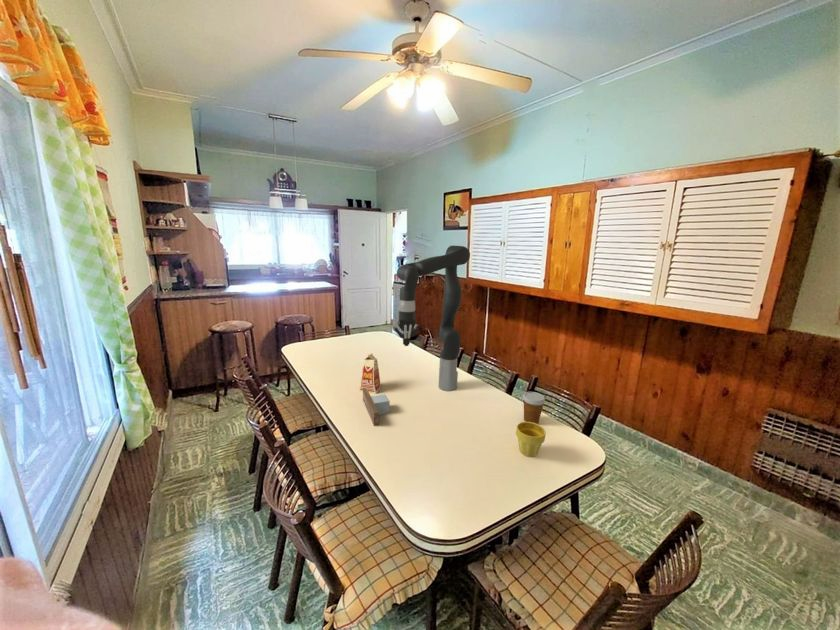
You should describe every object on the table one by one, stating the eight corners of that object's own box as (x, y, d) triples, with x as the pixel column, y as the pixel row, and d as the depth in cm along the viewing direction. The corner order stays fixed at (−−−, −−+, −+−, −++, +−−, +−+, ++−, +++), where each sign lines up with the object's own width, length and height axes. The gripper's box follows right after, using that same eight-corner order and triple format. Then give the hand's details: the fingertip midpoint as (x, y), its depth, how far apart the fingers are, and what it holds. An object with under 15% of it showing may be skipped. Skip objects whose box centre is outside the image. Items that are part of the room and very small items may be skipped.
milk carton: (375, 393, 166) (375, 356, 162) (358, 391, 168) (358, 355, 163) (381, 386, 175) (381, 351, 170) (365, 384, 177) (364, 349, 172)
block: (385, 405, 155) (385, 394, 153) (389, 413, 148) (389, 401, 147) (370, 408, 152) (370, 396, 151) (374, 415, 146) (374, 403, 144)
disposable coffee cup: (515, 417, 148) (518, 393, 145) (532, 413, 152) (534, 389, 149) (530, 428, 140) (533, 402, 137) (547, 424, 143) (550, 399, 141)
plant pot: (527, 463, 117) (529, 439, 115) (508, 446, 126) (511, 424, 124) (548, 456, 121) (552, 433, 119) (529, 441, 130) (532, 419, 128)
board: (366, 399, 160) (366, 388, 159) (378, 425, 138) (378, 412, 137) (362, 399, 159) (362, 388, 158) (373, 425, 137) (373, 413, 136)
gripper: (417, 307, 154) (416, 342, 158) (390, 308, 149) (390, 344, 153) (423, 310, 147) (422, 346, 151) (395, 311, 143) (394, 349, 146)
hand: (406, 345), depth 152 cm, fingers closed
